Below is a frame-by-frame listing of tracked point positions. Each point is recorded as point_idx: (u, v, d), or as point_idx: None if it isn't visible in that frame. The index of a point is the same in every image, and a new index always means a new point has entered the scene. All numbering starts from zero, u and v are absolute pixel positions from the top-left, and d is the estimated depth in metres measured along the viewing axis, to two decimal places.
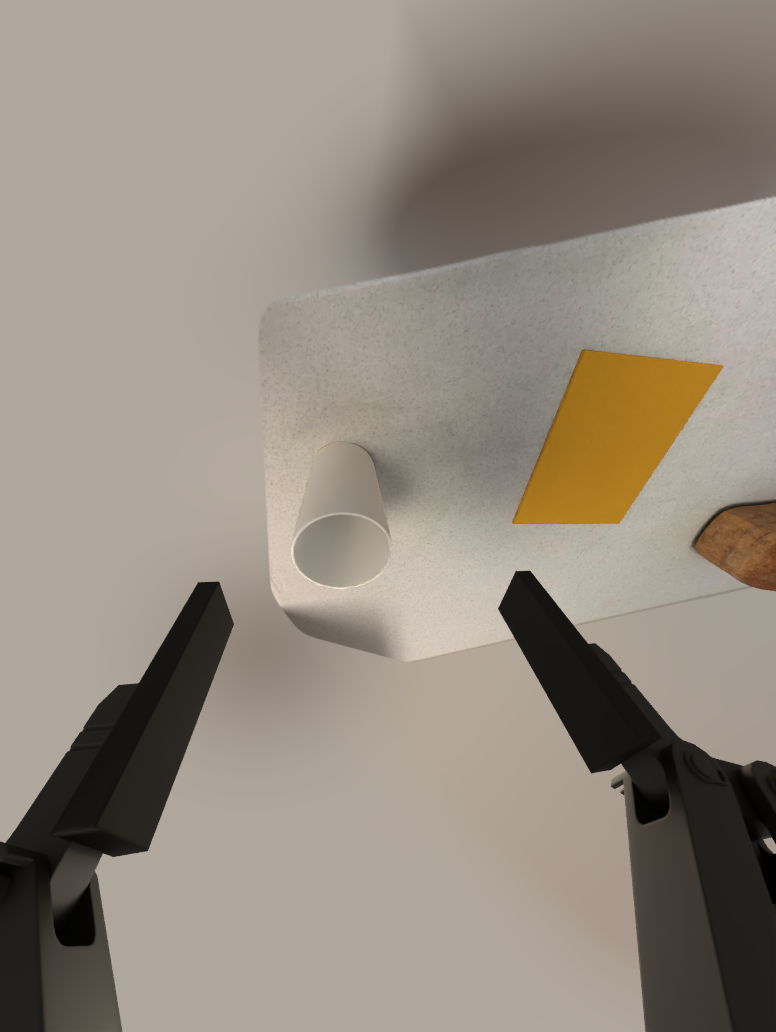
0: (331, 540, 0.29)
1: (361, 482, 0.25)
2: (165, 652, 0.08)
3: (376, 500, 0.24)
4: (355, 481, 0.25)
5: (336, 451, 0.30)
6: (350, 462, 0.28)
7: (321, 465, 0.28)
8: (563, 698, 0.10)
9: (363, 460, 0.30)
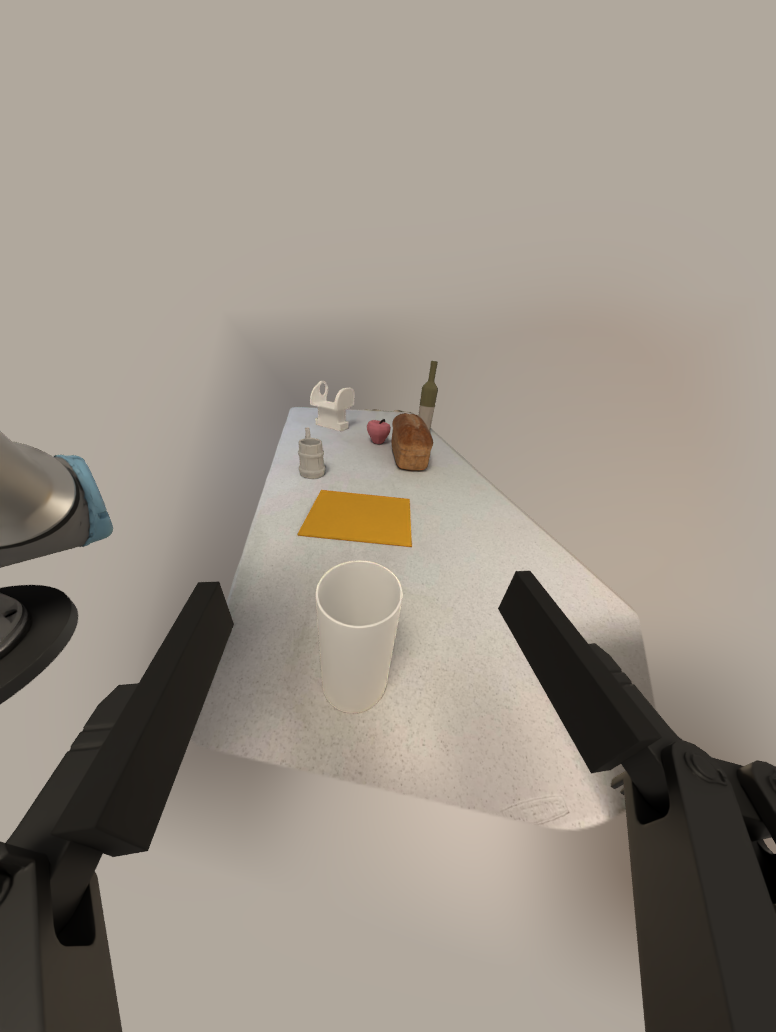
0: None
1: None
2: (165, 652, 0.08)
3: None
4: None
5: None
6: None
7: (321, 666, 0.29)
8: (563, 698, 0.10)
9: None
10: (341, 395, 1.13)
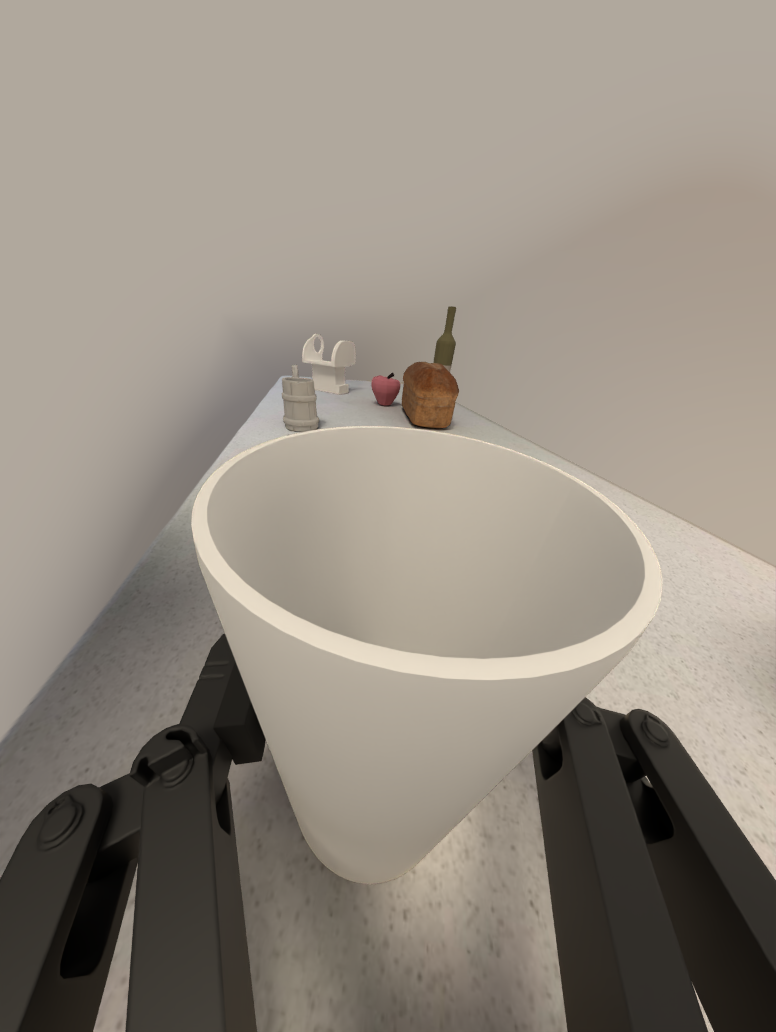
0: None
1: None
2: None
3: None
4: None
5: None
6: None
7: None
8: None
9: None
10: (340, 348, 0.93)
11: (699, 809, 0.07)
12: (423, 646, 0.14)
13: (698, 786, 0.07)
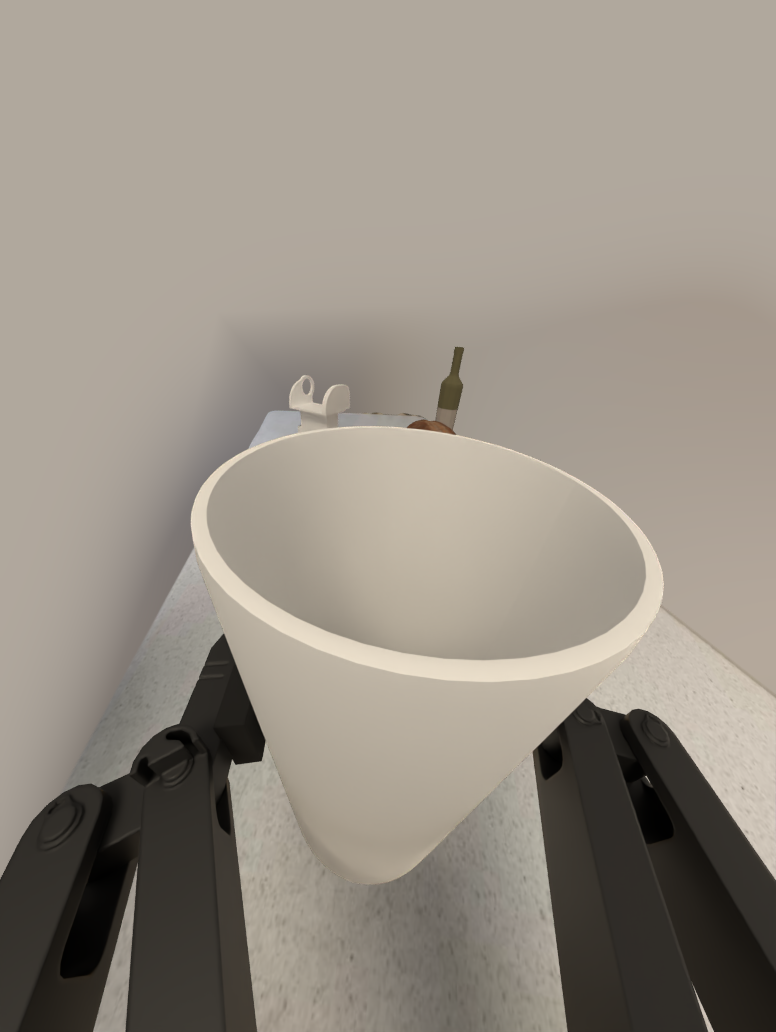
0: None
1: None
2: None
3: None
4: None
5: None
6: None
7: None
8: None
9: None
10: (331, 394, 0.81)
11: (699, 809, 0.07)
12: (423, 646, 0.14)
13: (698, 786, 0.07)
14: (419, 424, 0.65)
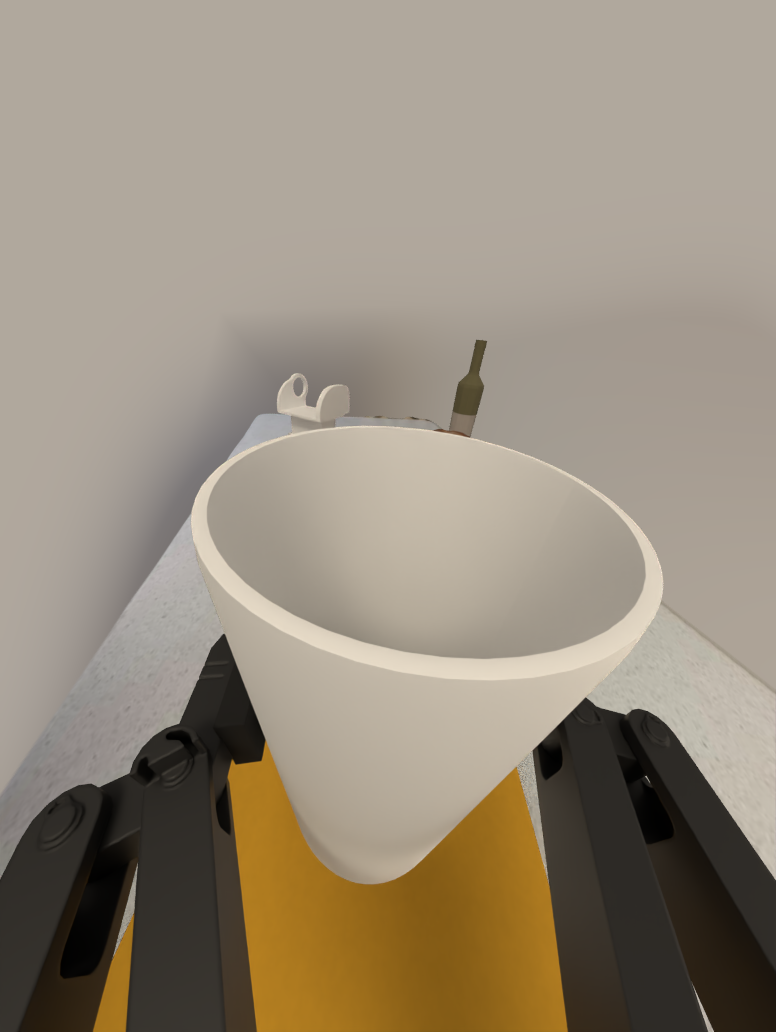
0: None
1: None
2: None
3: None
4: None
5: None
6: None
7: None
8: None
9: None
10: (327, 397, 0.67)
11: (699, 809, 0.07)
12: (423, 646, 0.14)
13: (698, 786, 0.07)
14: None
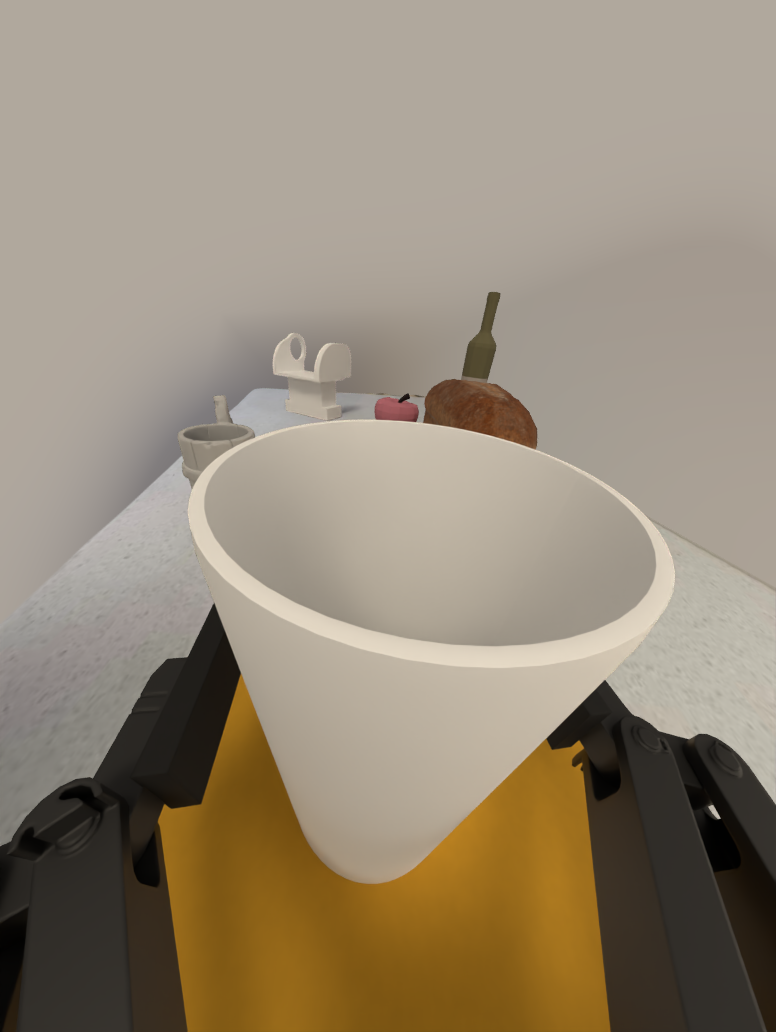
0: None
1: None
2: (208, 629, 0.09)
3: None
4: None
5: None
6: None
7: None
8: None
9: None
10: (327, 354, 0.62)
11: (774, 844, 0.06)
12: None
13: (775, 823, 0.06)
14: (449, 382, 0.46)
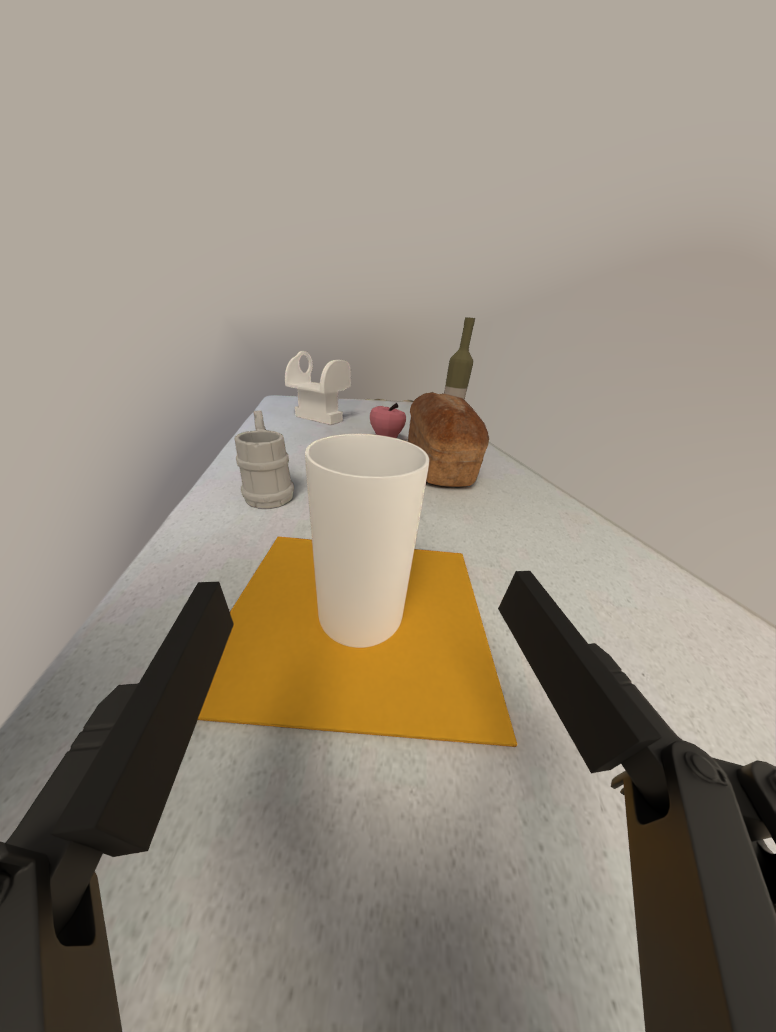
0: None
1: None
2: (165, 652, 0.08)
3: None
4: None
5: None
6: None
7: (317, 578, 0.22)
8: (563, 698, 0.10)
9: None
10: (330, 370, 0.75)
11: None
12: None
13: None
14: (427, 395, 0.58)
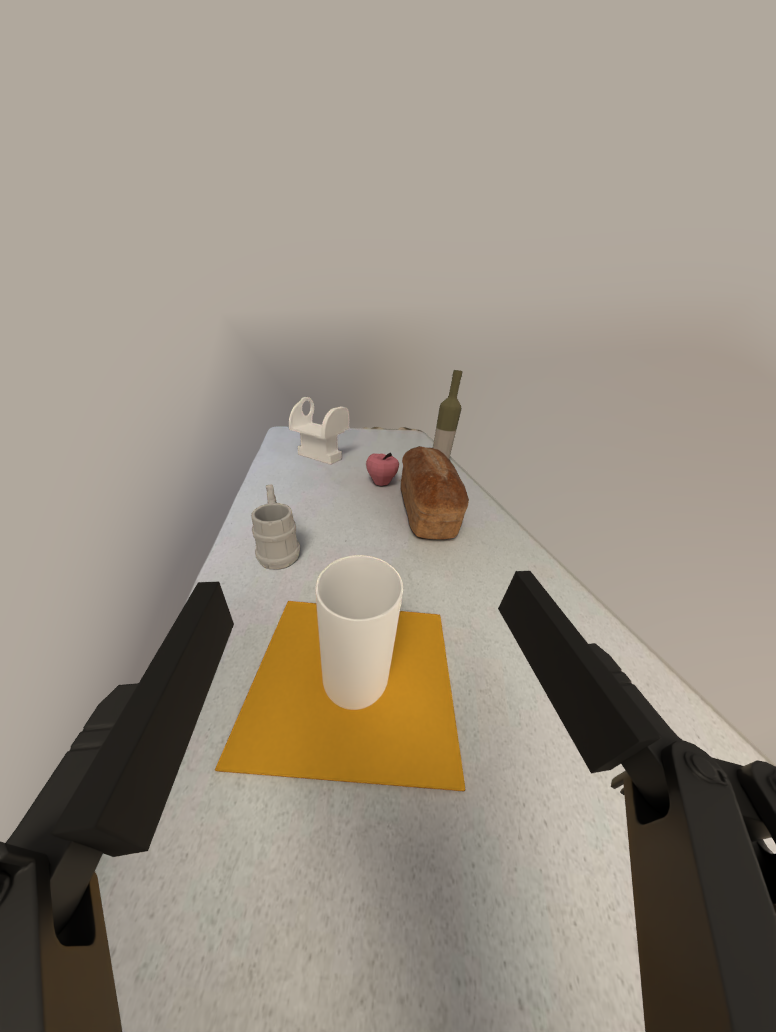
0: None
1: None
2: (165, 652, 0.08)
3: None
4: None
5: None
6: None
7: (322, 662, 0.29)
8: (563, 698, 0.10)
9: None
10: (330, 418, 0.82)
11: None
12: None
13: None
14: (416, 453, 0.66)
